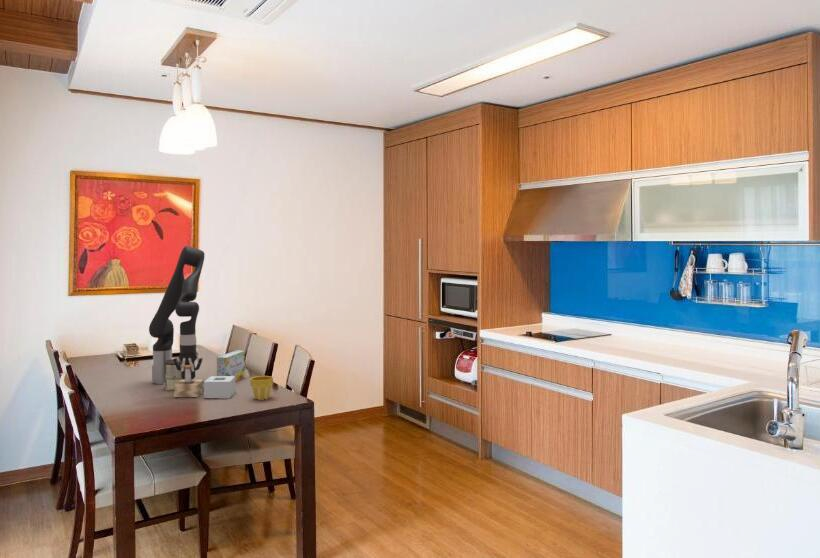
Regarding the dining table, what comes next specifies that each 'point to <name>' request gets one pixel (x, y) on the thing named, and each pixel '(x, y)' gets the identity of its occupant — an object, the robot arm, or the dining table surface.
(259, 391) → the plant pot
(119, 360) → the dining table surface
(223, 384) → the socket
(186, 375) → the pin
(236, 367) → the snack box
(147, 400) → the dining table surface
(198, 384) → the mount
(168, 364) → the coffee can
